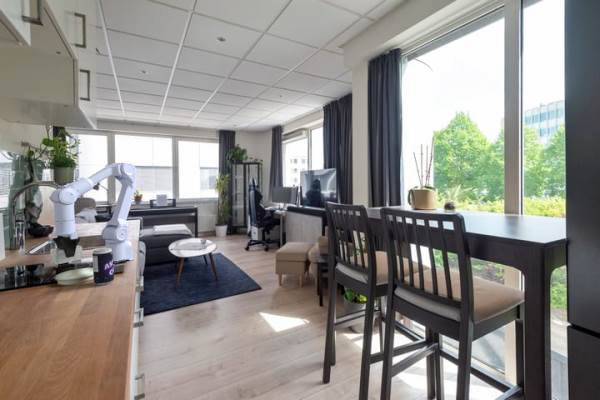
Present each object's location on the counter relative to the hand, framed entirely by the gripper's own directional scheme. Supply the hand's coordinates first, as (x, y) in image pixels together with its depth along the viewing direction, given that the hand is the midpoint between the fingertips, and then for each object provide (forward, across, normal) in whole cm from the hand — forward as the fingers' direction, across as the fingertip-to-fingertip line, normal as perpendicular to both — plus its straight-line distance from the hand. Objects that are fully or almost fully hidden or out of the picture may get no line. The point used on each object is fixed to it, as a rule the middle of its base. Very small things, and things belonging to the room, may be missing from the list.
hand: (67, 256), depth 105 cm
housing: (+2, 0, 0) cm, 2 cm away
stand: (+7, +11, -1) cm, 13 cm away
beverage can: (+7, +23, +2) cm, 24 cm away
